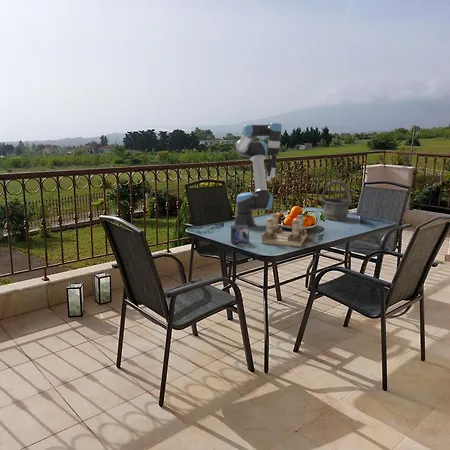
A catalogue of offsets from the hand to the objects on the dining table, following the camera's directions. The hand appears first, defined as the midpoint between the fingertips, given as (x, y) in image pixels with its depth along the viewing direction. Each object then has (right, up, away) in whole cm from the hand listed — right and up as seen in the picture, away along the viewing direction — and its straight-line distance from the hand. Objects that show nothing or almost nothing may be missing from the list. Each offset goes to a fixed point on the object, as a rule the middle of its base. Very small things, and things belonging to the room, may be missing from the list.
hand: (270, 179), depth 269 cm
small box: (-21, -42, -21) cm, 51 cm away
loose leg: (+17, -37, -11) cm, 42 cm away
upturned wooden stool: (+7, -40, -15) cm, 44 cm away
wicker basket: (+57, -26, +50) cm, 81 cm away
